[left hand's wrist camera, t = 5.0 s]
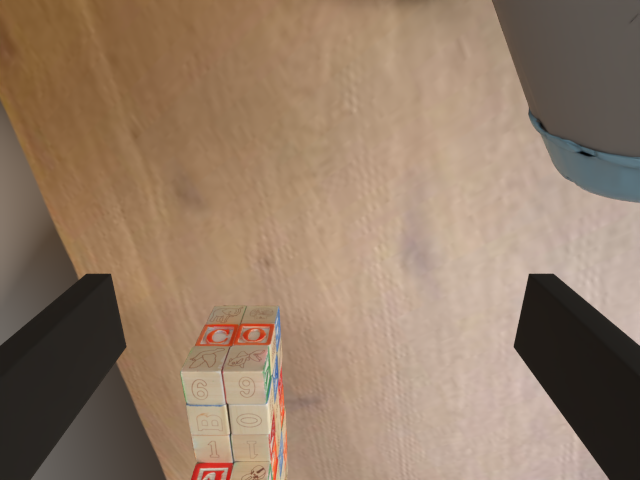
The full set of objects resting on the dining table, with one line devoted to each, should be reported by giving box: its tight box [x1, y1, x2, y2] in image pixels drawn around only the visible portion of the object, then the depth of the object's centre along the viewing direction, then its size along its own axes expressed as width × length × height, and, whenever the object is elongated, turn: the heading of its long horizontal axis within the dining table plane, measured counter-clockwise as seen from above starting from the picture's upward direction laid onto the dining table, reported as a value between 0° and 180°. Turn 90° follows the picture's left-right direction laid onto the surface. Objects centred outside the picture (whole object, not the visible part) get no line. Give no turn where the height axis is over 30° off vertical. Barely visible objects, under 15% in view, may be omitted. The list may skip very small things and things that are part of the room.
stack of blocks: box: [180, 306, 287, 480], centre depth 36 cm, size 21×6×12 cm, turn 1°
